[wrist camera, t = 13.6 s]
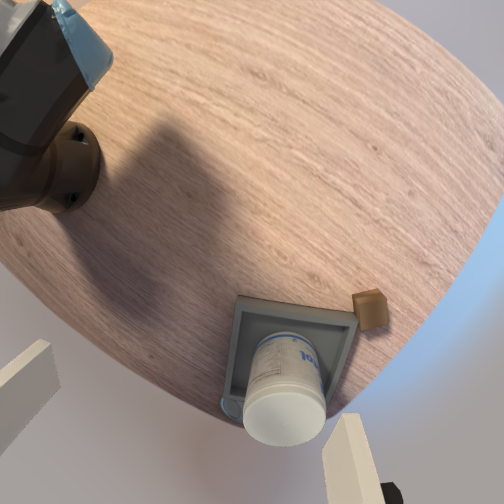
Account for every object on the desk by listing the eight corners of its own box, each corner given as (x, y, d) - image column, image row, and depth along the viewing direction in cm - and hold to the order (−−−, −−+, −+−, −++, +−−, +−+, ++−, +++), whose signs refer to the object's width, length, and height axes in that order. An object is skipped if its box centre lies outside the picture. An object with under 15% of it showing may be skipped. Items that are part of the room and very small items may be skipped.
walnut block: (354, 318, 41) (361, 331, 37) (351, 294, 40) (358, 304, 36) (379, 312, 40) (388, 323, 36) (377, 288, 39) (386, 297, 35)
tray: (225, 386, 45) (222, 397, 42) (238, 294, 41) (235, 302, 38) (324, 400, 44) (326, 411, 41) (353, 312, 40) (358, 321, 37)
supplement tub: (328, 357, 41) (345, 423, 27) (281, 389, 43) (280, 457, 29) (287, 316, 40) (291, 377, 26) (239, 353, 42) (223, 419, 28)
